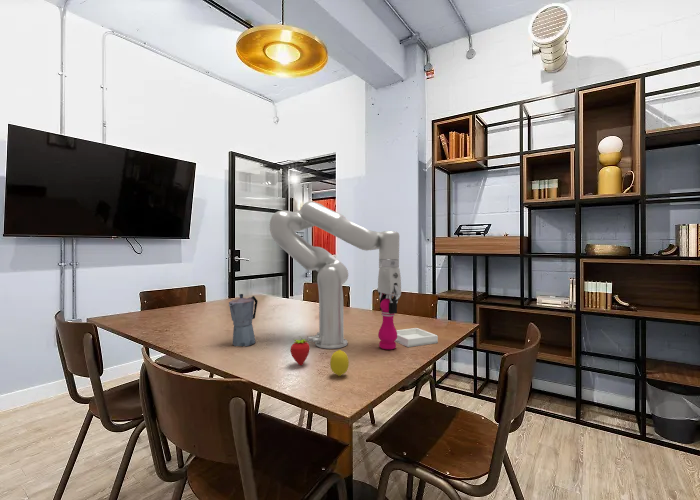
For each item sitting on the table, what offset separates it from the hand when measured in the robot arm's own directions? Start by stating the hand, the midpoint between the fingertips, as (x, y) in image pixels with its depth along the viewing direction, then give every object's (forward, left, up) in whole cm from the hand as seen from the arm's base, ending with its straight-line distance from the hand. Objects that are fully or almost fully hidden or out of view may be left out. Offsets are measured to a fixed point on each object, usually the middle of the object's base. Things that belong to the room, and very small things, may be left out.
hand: (388, 311), depth 134 cm
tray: (+14, +5, -14) cm, 21 cm away
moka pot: (-49, +30, -14) cm, 59 cm away
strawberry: (-36, -4, -14) cm, 39 cm away
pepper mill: (0, 0, -14) cm, 14 cm away
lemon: (-28, -18, -14) cm, 36 cm away
